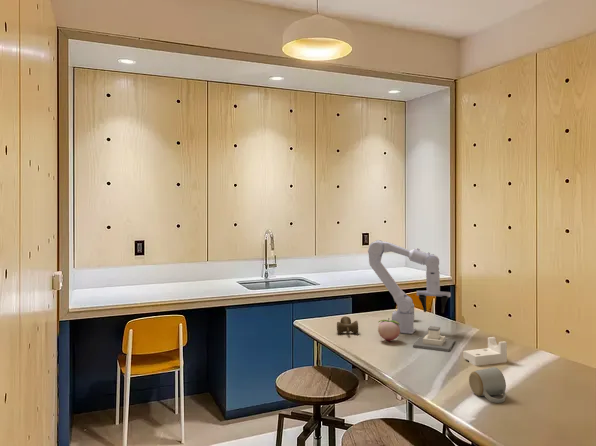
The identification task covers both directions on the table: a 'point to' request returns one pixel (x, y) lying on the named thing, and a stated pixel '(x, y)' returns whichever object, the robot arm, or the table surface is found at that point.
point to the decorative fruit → (389, 329)
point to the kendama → (347, 325)
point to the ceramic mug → (488, 383)
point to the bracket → (488, 353)
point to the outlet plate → (434, 343)
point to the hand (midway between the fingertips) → (433, 312)
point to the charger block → (434, 332)
